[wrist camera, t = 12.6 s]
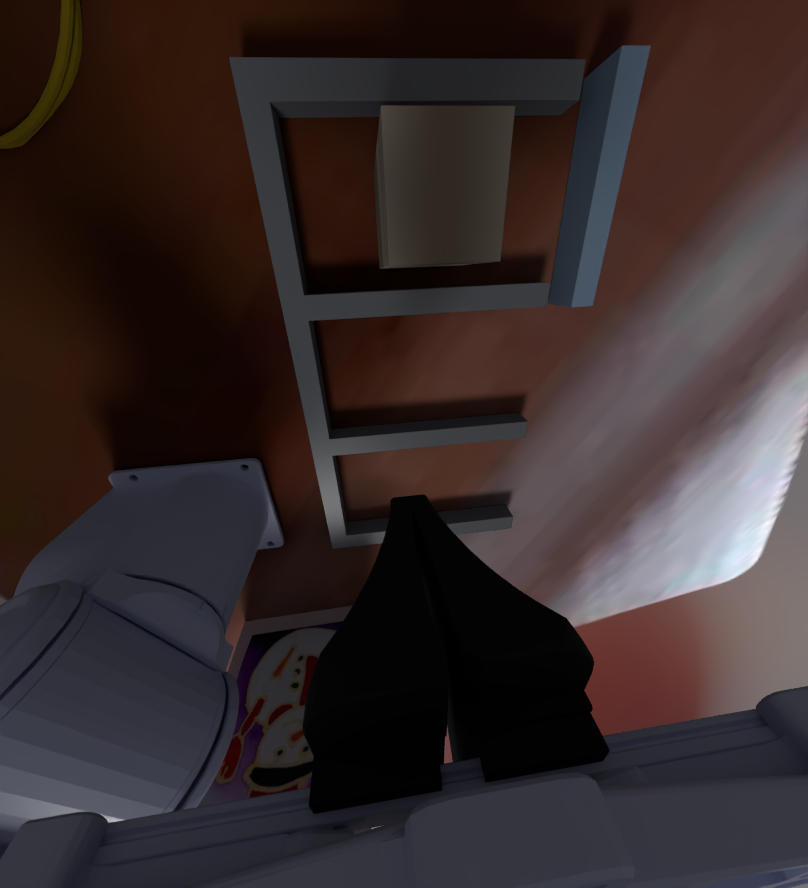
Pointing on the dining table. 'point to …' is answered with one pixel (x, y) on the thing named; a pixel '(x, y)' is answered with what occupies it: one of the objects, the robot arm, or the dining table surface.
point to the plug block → (441, 184)
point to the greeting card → (273, 705)
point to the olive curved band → (54, 76)
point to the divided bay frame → (573, 285)
